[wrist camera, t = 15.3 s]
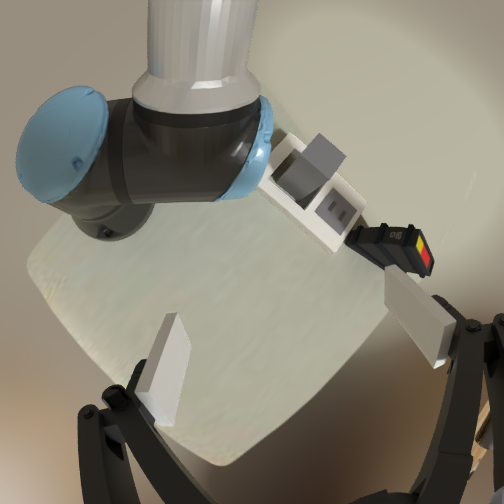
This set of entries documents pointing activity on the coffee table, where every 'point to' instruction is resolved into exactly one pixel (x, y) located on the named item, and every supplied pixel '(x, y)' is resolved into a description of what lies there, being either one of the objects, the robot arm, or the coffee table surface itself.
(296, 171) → the grey tall block
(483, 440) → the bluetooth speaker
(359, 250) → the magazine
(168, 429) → the coffee table surface
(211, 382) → the coffee table surface
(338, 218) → the white flat rectangular frame
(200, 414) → the coffee table surface
